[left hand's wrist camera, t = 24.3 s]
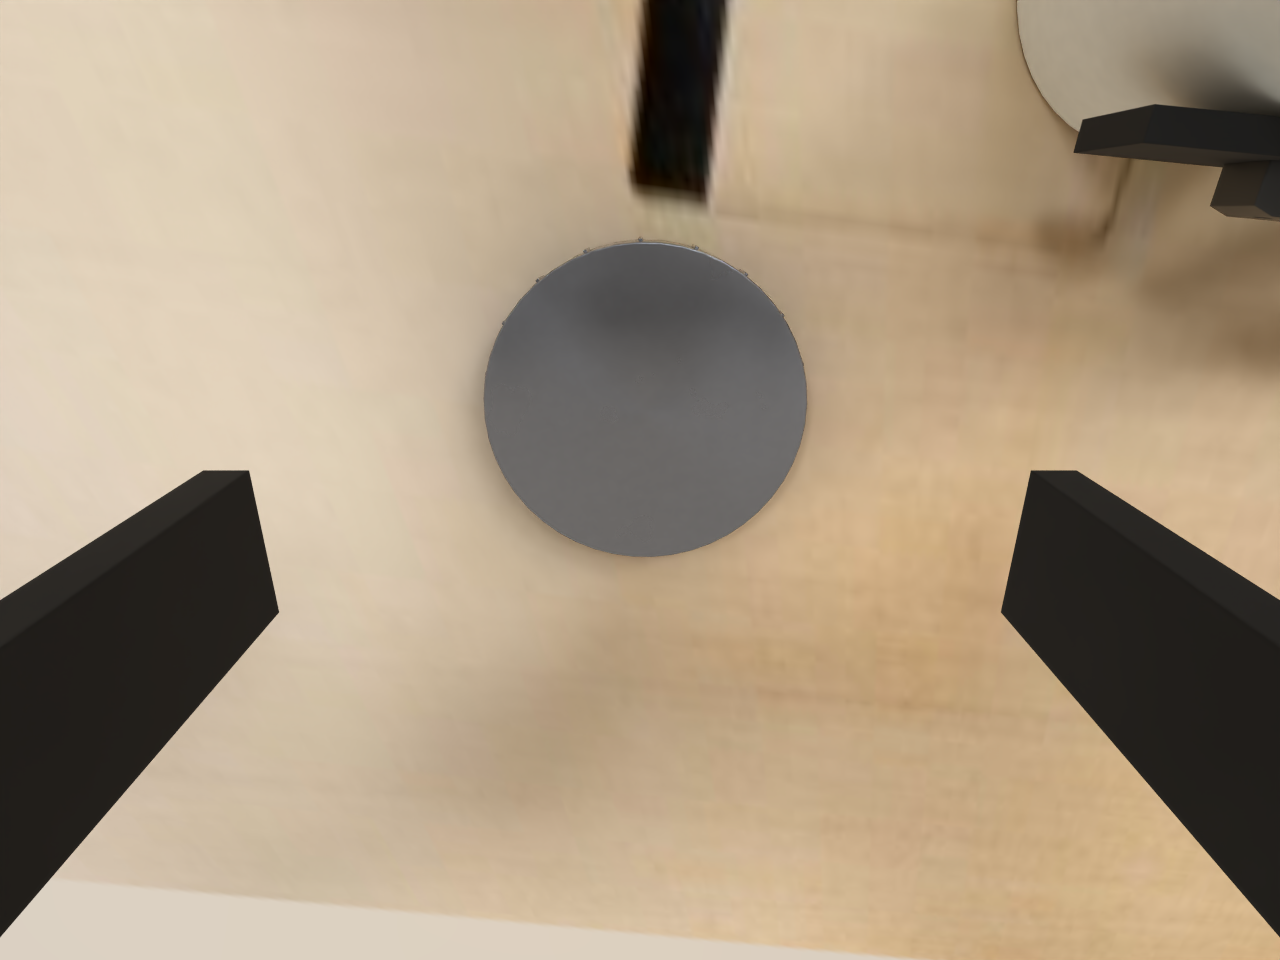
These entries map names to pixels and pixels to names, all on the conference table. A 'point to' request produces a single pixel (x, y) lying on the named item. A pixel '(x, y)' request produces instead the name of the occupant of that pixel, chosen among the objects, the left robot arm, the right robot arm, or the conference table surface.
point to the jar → (1152, 54)
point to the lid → (645, 398)
